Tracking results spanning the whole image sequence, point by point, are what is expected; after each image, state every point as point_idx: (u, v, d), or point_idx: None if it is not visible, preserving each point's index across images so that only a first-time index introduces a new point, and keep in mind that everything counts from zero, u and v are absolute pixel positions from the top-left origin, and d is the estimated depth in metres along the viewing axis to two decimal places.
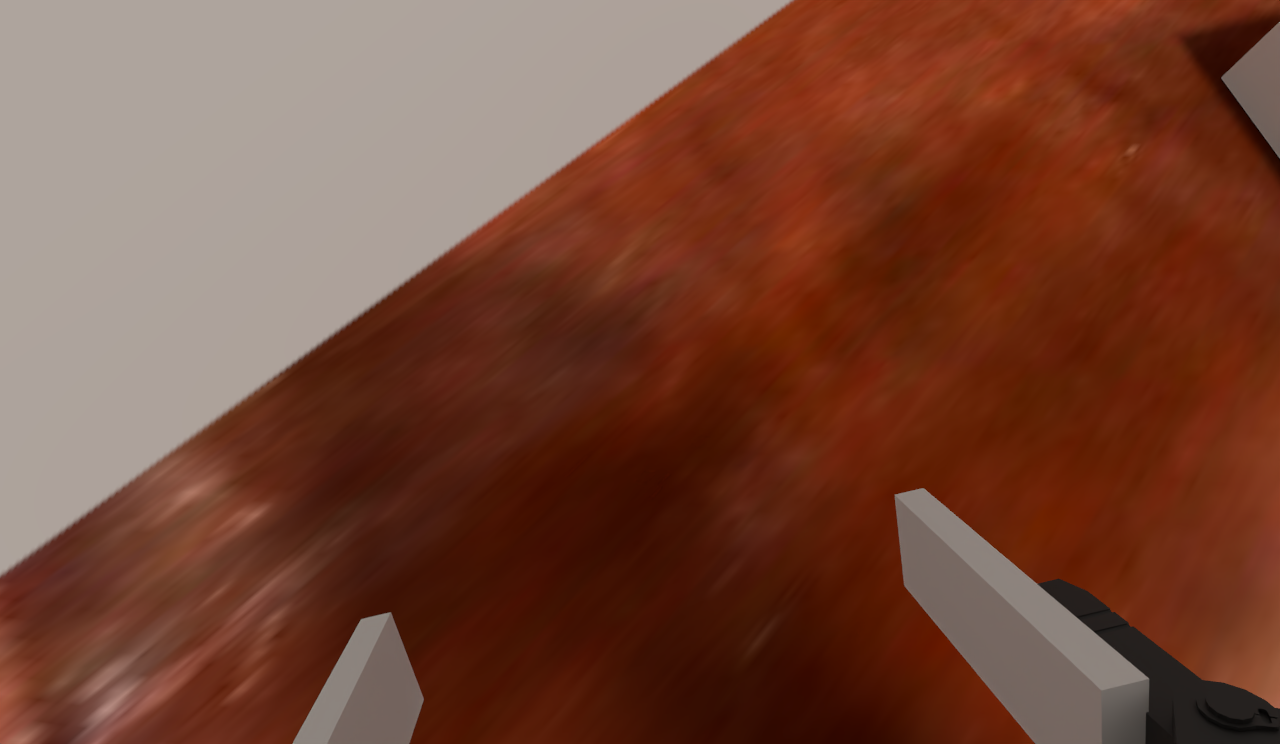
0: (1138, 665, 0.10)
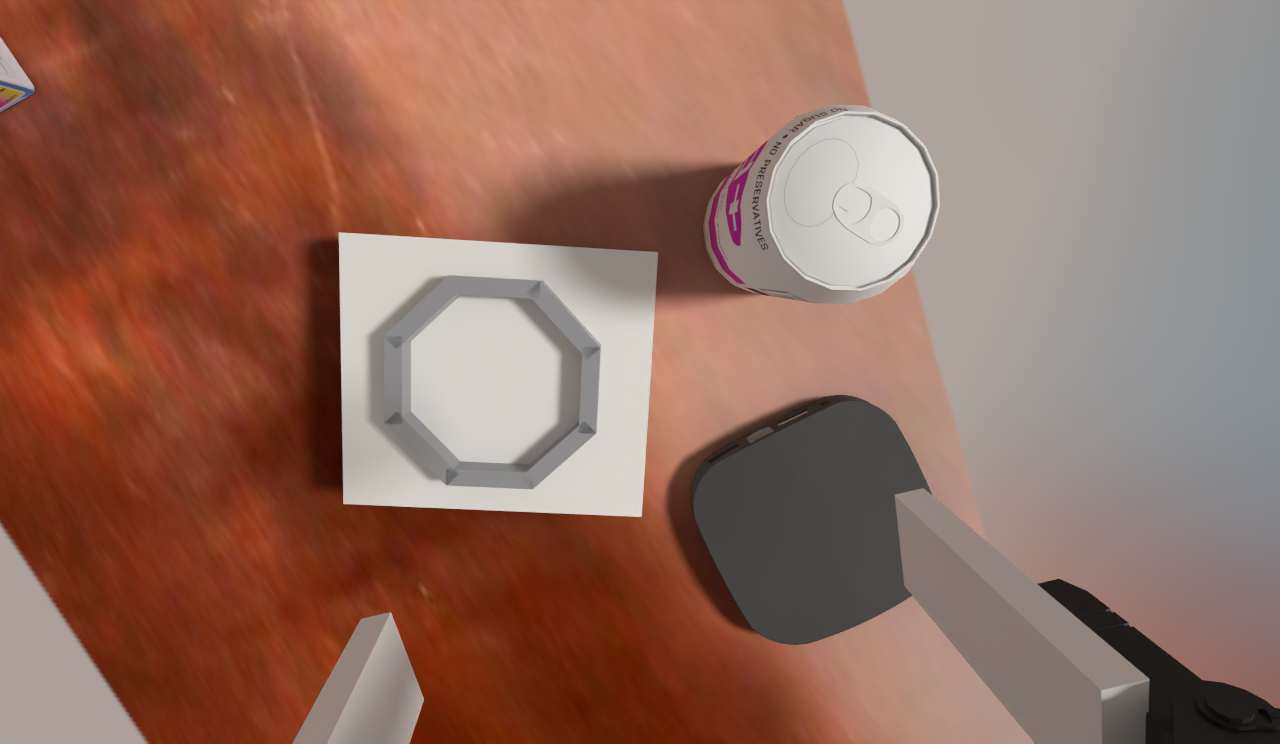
0: (1138, 665, 0.10)
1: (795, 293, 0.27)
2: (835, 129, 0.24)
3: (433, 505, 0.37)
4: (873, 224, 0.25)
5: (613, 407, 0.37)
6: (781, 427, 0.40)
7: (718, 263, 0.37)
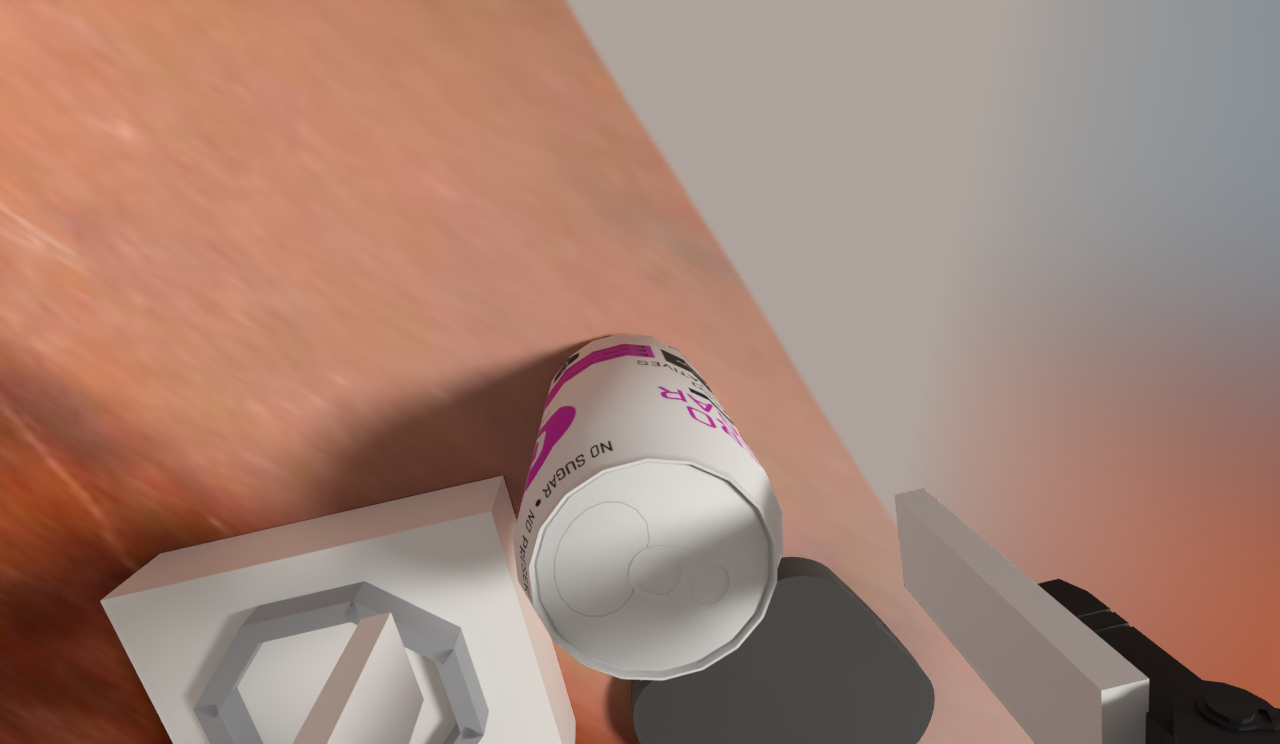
0: (1138, 665, 0.10)
1: None
2: (598, 491, 0.17)
3: None
4: (693, 586, 0.18)
5: (499, 685, 0.31)
6: None
7: None
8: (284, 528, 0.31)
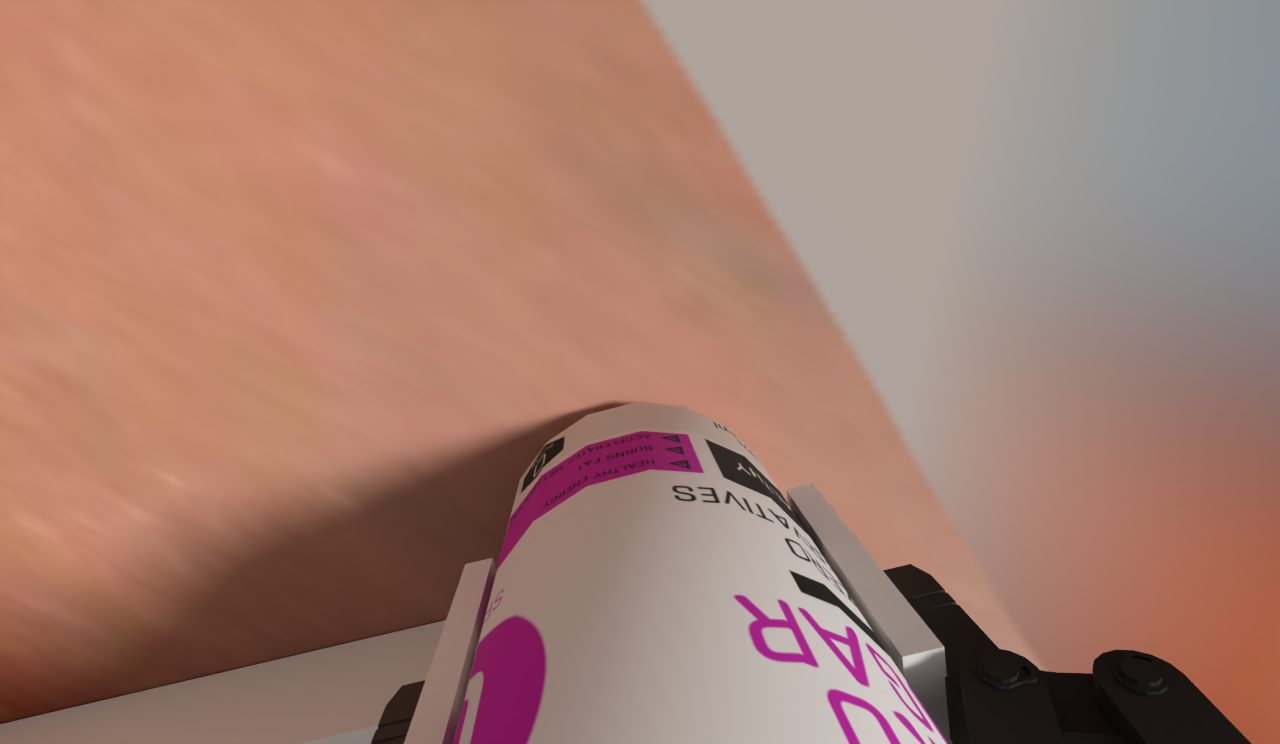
0: (951, 637, 0.12)
1: None
2: None
3: None
4: None
5: None
6: None
7: None
8: (94, 709, 0.20)
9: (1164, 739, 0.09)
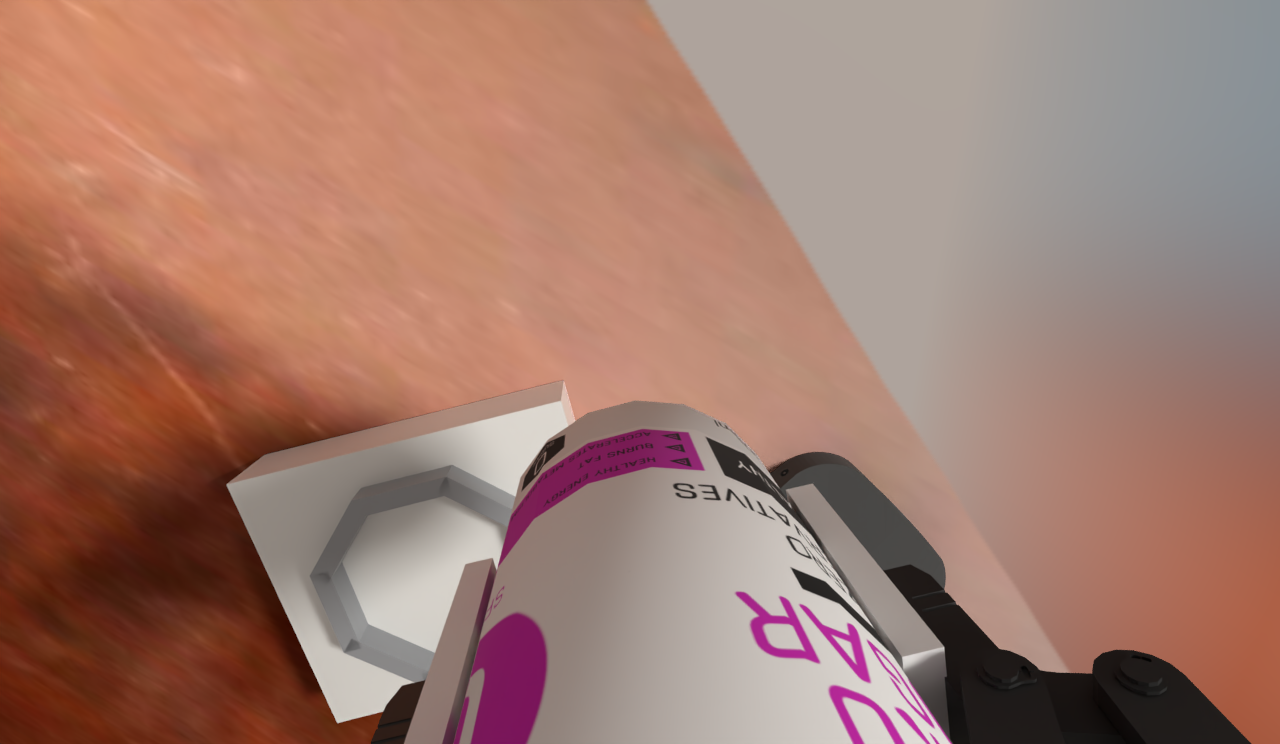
0: (951, 637, 0.12)
1: None
2: None
3: None
4: None
5: None
6: None
7: None
8: (374, 428, 0.36)
9: (1164, 739, 0.09)
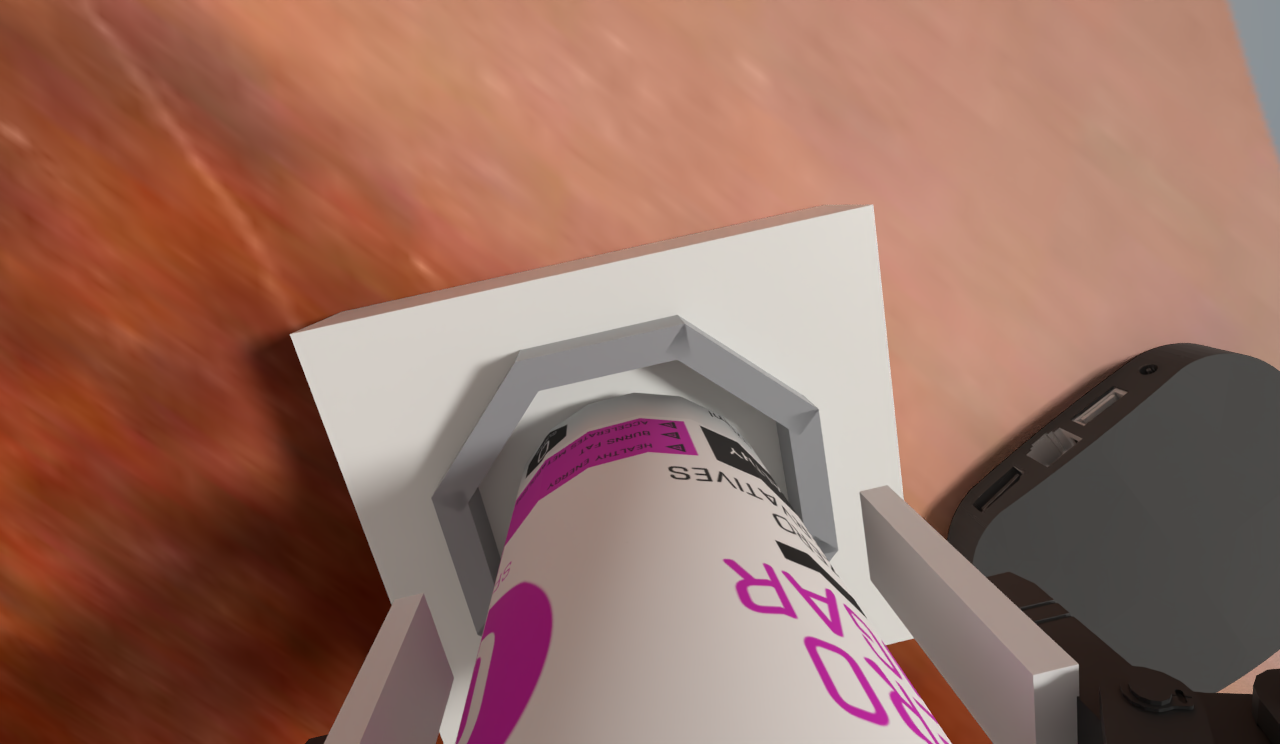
0: (1074, 652, 0.11)
1: None
2: None
3: None
4: None
5: (842, 488, 0.21)
6: (1094, 429, 0.24)
7: None
8: (522, 272, 0.22)
9: None
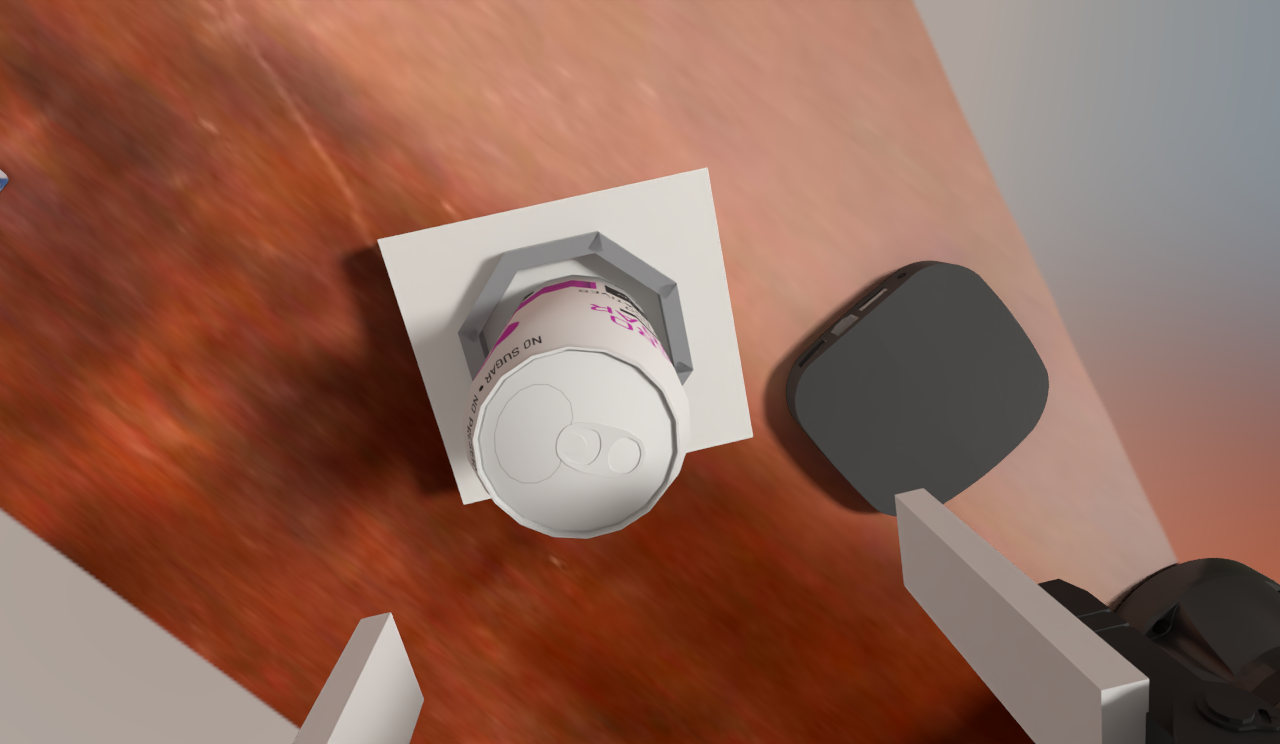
0: (1138, 665, 0.10)
1: None
2: (529, 375, 0.20)
3: None
4: (611, 458, 0.21)
5: (700, 338, 0.36)
6: (865, 311, 0.39)
7: None
8: None
9: None
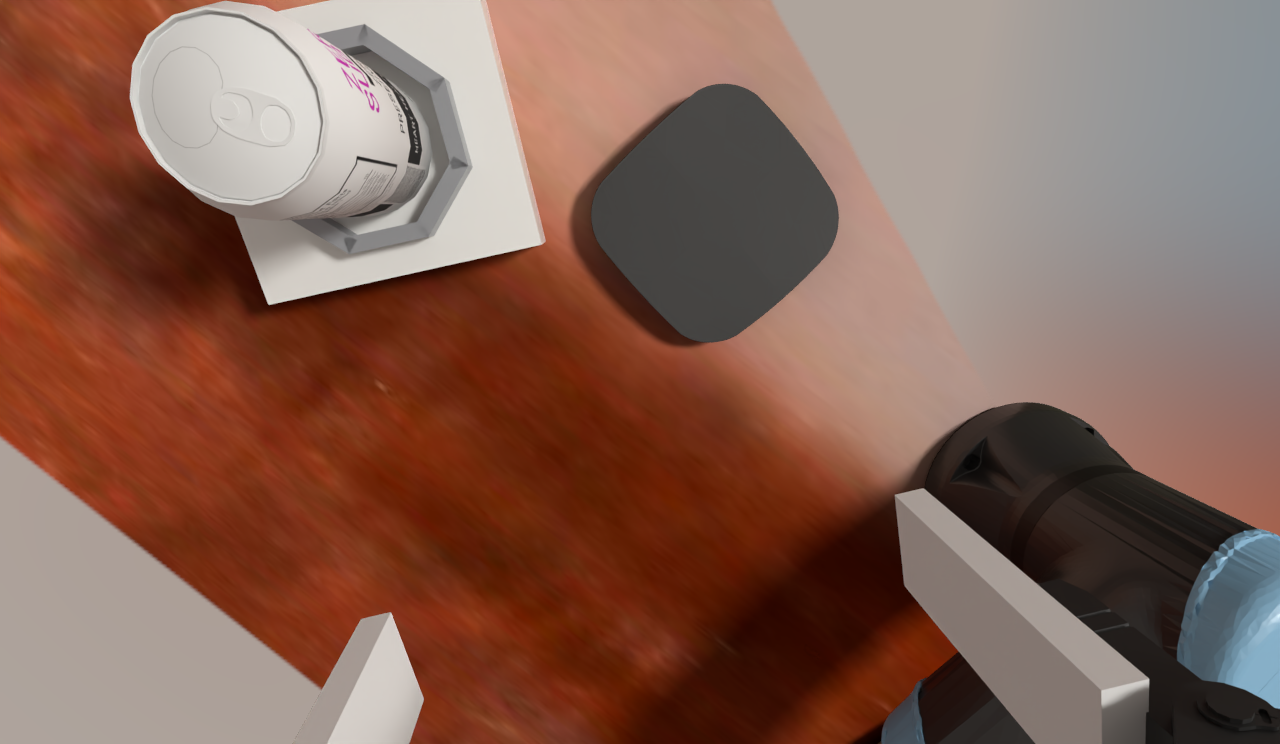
0: (1138, 665, 0.10)
1: (246, 217, 0.26)
2: (176, 37, 0.23)
3: (349, 284, 0.40)
4: (264, 126, 0.24)
5: (481, 143, 0.38)
6: (652, 130, 0.41)
7: None
8: None
9: None
